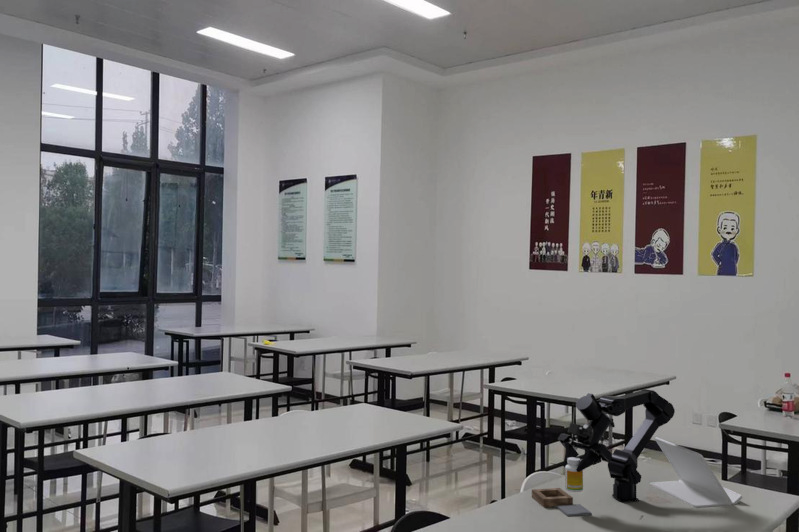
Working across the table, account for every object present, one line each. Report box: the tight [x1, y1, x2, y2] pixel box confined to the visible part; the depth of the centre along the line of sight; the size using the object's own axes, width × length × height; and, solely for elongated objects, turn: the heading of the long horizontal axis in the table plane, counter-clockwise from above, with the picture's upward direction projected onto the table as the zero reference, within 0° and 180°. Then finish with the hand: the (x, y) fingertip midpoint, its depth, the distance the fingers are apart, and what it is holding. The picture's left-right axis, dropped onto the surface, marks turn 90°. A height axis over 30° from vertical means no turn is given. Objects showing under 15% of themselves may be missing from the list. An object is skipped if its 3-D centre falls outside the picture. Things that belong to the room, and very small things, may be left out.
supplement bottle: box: [564, 457, 584, 493], centre depth 209 cm, size 5×5×10 cm
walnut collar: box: [531, 487, 574, 508], centre depth 218 cm, size 10×10×2 cm
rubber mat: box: [556, 503, 593, 517], centre depth 209 cm, size 8×8×1 cm
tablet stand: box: [649, 436, 743, 509], centre depth 227 cm, size 18×25×17 cm
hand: (570, 468), depth 209 cm, fingers closed on supplement bottle, 5 cm apart
